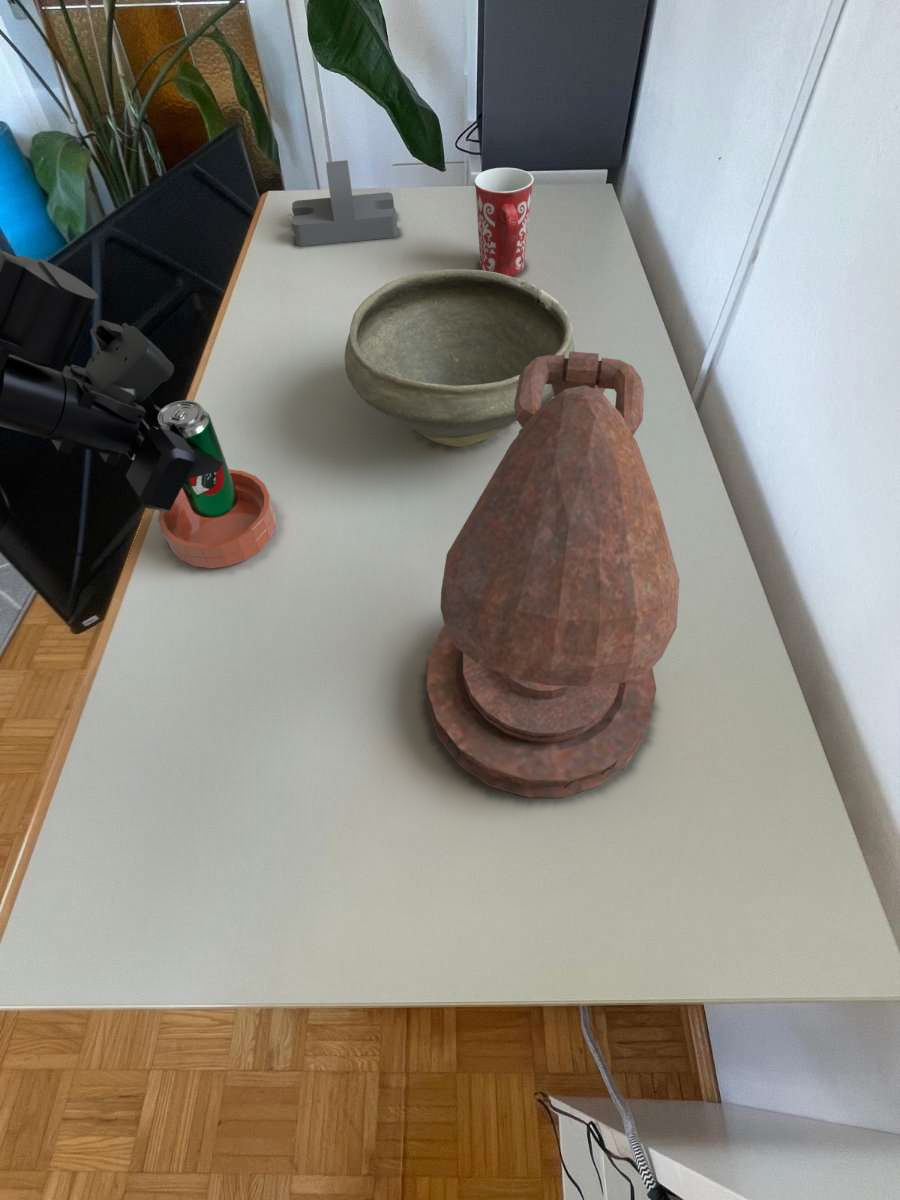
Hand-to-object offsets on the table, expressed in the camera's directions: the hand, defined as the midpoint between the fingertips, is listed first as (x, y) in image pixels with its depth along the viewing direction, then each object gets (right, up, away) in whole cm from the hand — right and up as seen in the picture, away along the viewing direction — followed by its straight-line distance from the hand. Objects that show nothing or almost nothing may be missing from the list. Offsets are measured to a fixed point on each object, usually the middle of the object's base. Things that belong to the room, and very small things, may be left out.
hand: (209, 452), depth 71 cm
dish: (-2, -7, +10) cm, 12 cm away
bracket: (+6, +52, +55) cm, 76 cm away
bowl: (+26, +9, +22) cm, 35 cm away
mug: (+33, +39, +44) cm, 67 cm away
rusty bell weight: (+33, -25, -5) cm, 42 cm away
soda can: (-1, -5, +5) cm, 7 cm away
